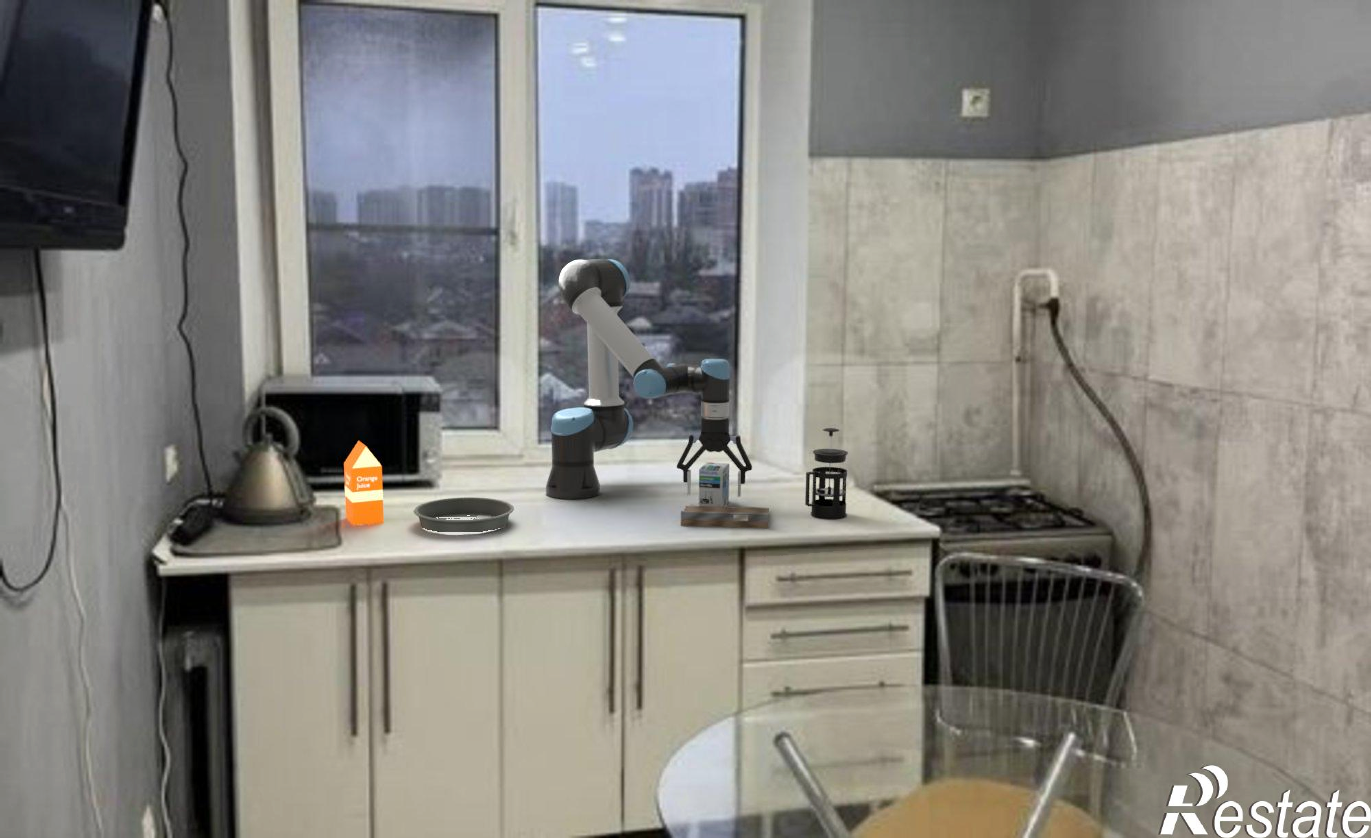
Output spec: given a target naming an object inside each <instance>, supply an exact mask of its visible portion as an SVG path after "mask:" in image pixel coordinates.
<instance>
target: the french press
mask: <svg viewBox="0 0 1371 838" xmlns="http://www.w3.org/2000/svg"><path fill="white" fill-rule="evenodd" d="M822 431H823V432H827V433H828V437H829V438H830V439H829V448H818V449H814V450H813V451H812V453H813V454H814V461H815V462H818V463H823V464H829V465H828V466H820V467H819V466H818V467H815V468H813V469H812V471H806V473H805V497H804V498H805V499H804V500H805V502H804V503H805V506H807V507H811V511H810V516H812V517H813V518H816V519H821V520H831V521H832V520H841V519H842V520H843V519H845V518H847V515H848V514H847V495H846V494H847V477H848V469H846V468H841V467H837V466H834V467H833V466H831V464H840V463H844V462H846V458H847V456H848V454H849V453H848V450H847V451H846V450H844V449H837V448H832V439H833V435H834V433H837V432H839V431H840V429H838V428H836V427H835V428H834V427H828V428H827V427H826V428H823V429H822ZM811 475H812V489H811V490H812V493H811V494H812V497H811V503H810V485H811V484H810V479H811ZM817 478H818V479H819V481H818V488H817ZM841 479H842V489H841ZM826 480H828V487H826ZM831 480H833V487H831ZM817 496H818V499H816V498H817ZM840 497H842V498H840Z"/></svg>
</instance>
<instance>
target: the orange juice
mask: <svg viewBox="0 0 1371 838" xmlns="http://www.w3.org/2000/svg"><path fill="white" fill-rule="evenodd" d="M343 468H344V469H343V470H344V471H343V472H344V475H343V476H344V497H345V500H344V501H345V517H346V520H347V519H348V520H347V521H348V522H349V521H350V522H351V523H350V522H349V523H350V524H351V525H352V524H353V525H358V524H359V526H361V525H360V524H368V525H375V523H376V524H383V523H384V521H385V520H384V490H383V488H384V487H383V466H382V465H381V463H380V461H378V459H377V458H376V457H375V456H374V454H373V453H372V452H371V451H370V449H369V448H368V446H366V444H364V443H362V442H361V441H360V440H358V441H357V443H356V444H355V445H354V447H353V448H352V450H351V452H350V453H349V455H348V456H347V458H346V459H345V461H344V462H343ZM353 525H352V526H353Z"/></svg>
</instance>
